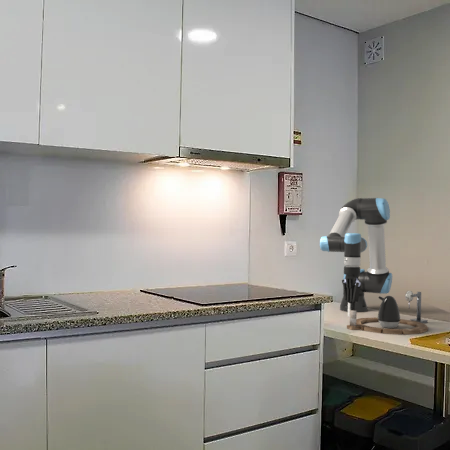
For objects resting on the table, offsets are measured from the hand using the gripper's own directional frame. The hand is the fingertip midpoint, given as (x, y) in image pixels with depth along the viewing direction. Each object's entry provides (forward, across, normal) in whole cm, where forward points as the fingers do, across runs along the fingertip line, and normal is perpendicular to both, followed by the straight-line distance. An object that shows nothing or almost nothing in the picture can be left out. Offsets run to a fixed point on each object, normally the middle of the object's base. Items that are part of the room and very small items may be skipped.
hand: (350, 316), depth 258 cm
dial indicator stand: (+5, -2, +38) cm, 39 cm away
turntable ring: (+5, +3, +17) cm, 18 cm away
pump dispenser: (+6, +3, +19) cm, 20 cm away
